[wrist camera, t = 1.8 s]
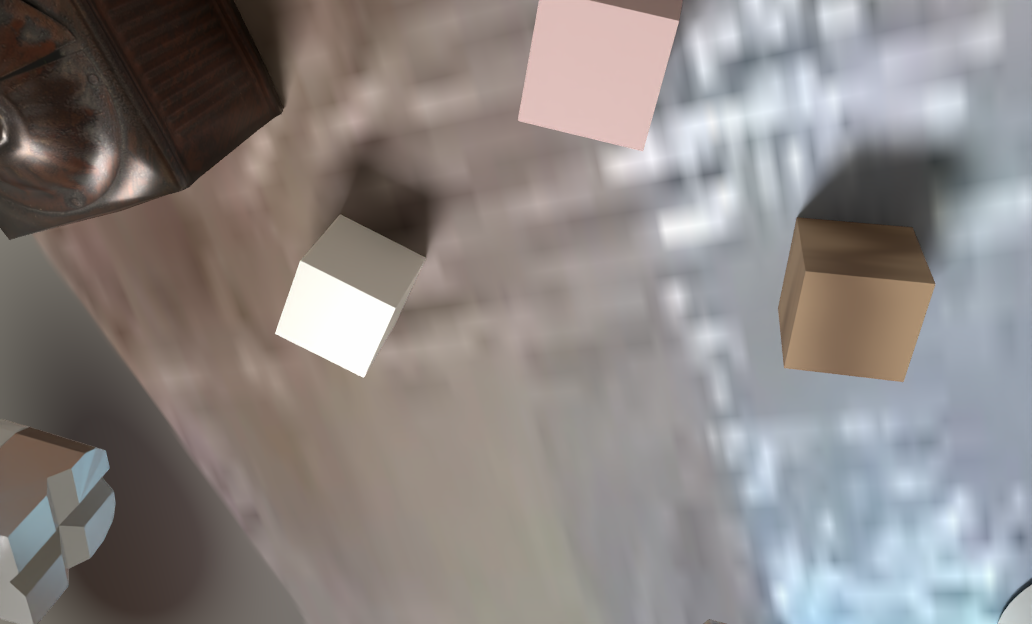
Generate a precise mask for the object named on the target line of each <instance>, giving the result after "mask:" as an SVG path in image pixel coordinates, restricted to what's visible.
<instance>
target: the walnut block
mask: <svg viewBox="0 0 1032 624" xmlns="http://www.w3.org/2000/svg"><path fill="white" fill-rule="evenodd" d="M934 287H935V282H934V279H933V277H932V274H931V272H930V269H929V267H928V264H927V262H926V260H925V257H924V255H923V252H922V250H921V247H920V245H919V242H918V240H917V237H916V235H915V232H914V230H913V228H912V227H903V226H891V225H880V224H868V223H857V222H845V221H834V220H822V219H810V218H799V217H797V219H796V224H795V229H794V233H793V238H792V243H791V248H790V253H789V258H788V263H787V267H786V272H785V277H784V282H783V287H782V292H781V297H780V301H779V306H778V312H779V322H780V332H781V342H782V352H783V362H784V368H789V369H798V370H806V371H815V372H823V373H832V374H840V375H849V376H857V377H866V378H874V379H883V380H891V381H900V382H904V378H905V375H906V372H907V369H908V366H909V363H910V360H911V357H912V354H913V351H914V348H915V345H916V342H917V339H918V336H919V333H920V330H921V327H922V323H923V320H924V317H925V314H926V311H927V308H928V305H929V302H930V299H931V296H932V293H933V290H934Z"/></svg>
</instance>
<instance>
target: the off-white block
mask: <svg viewBox="0 0 1032 624" xmlns="http://www.w3.org/2000/svg"><path fill="white" fill-rule="evenodd" d="M425 259H426V258H425V257H423V256H421V255H419V254H417V253H416V252H414V251H412V250H410V249H408V248H406V247H404V246H402V245H400V244H398V243H396V242H394V241H392V240H390V239H388V238H386V237H384V236H382V235H380V234H378V233H376V232H374V231H372V230H370V229H368V228H366V227H364V226H362V225H360V224H358V223H356V222H354V221H353V220H351V219H349V218H347V217H345V216H343V215H341V214H340V215H339V216H338V217H337V218H336V220H335V221H334V222H333V223H332V224H331V225H330V227H329V228H328V229H327V230H326V231H325V232H324V234H323V235H322V236H321V237H320V238H319V239H318V241H317V242H316V243H315V244H314V245H313V246H312V248H311V249H310V250H309V251H308V252H307V253H306V255H305V256H304V257H303V258H302V259H301V260H300V263H299V266H298V269H297V272H296V275H295V278H294V281H293V283H292V286H291V289H290V292H289V295H288V298H287V301H286V304H285V307H284V309H283V312H282V315H281V318H280V321H279V324H278V327H277V330H276V333H275V334H277V335H279V336H281V337H283V338H285V339H287V340H289V341H291V342H293V343H295V344H297V345H299V346H301V347H303V348H305V349H307V350H309V351H311V352H313V353H315V354H317V355H319V356H321V357H323V358H325V359H327V360H329V361H331V362H333V363H335V364H337V365H339V366H341V367H343V368H345V369H347V370H349V371H351V372H353V373H356V374H358V375H360V376H362V377H365V375H366V373H367V372H368V370H369V368H370V367H371V365H372V363H373V361H374V360H375V358H376V356H377V355H378V353H379V351H380V350H381V348H382V346H383V344H384V343H385V341H386V339H387V338H388V336H389V334H390V333H391V331H392V329H393V327H394V326H395V324H396V322H397V320H398V318H399V315H400V313H401V311H402V309H403V307H404V305H405V302H406V300H407V298H408V296H409V294H410V292H411V290H412V287H413V285H414V283H415V281H416V279H417V277H418V274H419V272H420V270H421V268H422V266H423V264H424V261H425Z"/></svg>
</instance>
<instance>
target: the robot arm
mask: <svg viewBox="0 0 1032 624" xmlns="http://www.w3.org/2000/svg"><path fill="white" fill-rule="evenodd" d="M108 469H109V463H108V459H107V454H106V451H105V450H102V449H99V448H96V447H92V446H89V445H86V444H83V443H80V442H76V441H72V440H70V439H66V438H63V437H60V436H57V435H53V434H50V433H47V432H44V431H40V430H37V429H34V428H31V427H28V426H24V425H21V424H17V423H14V422H10V421H7V420H4V419H0V619H2V620H7V621H10V622H14V623H18V624H38V623H39V622H40V621H41V619H42V618H43V617H44V616H45V615H46V613H47V612H48V611H49V610H50V608H51V607H52V606H53V605H54V603H55V602H56V601H57V599H58V598H59V597H60V596H61V594H62V593H63V592H64V590H65V589H66V588H67V587H68V585H69V580H68V579H69V572H68V569H69V568H71V567H73V566H75V565H77V564H79V563H81V562H83V561H85V560H87V559H89V558H91V556H92V555H93V554H94V552H95V551H96V550H97V548H98V547H99V546H100V544H101V543H102V542H103V540H104V538H105V536H106V534H107V532H108V529H109V527H110V525H111V523H112V521H113V516H114V510H115V497H114V491H113V490H112V489H111V487H110V486H109V485H108V484H107V483H106V482H105V480H104V479H103V478H102V476H103V475H104V474H105V473H106V472H107V470H108ZM703 624H725V623H722V622H718V621H714V620H710V619H709V620H707V621H706V622H705V623H703ZM998 624H1032V585H1031V586H1029V587H1028V588H1026V589H1025V590H1024V591H1022V592H1021V593H1020V594H1019V595H1018V596H1017V597H1016V598H1015V599H1014V600H1013V601H1012V602H1011V603H1010V604H1009V605H1008V607H1007V608H1006V609H1005V611H1004V612H1003V614H1002V616H1001V618H1000V620H999V622H998Z"/></svg>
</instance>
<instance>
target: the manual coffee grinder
mask: <svg viewBox="0 0 1032 624" xmlns="http://www.w3.org/2000/svg"><path fill="white" fill-rule="evenodd" d="M282 112H283V109H282V106H281V104H280V101H279V99H278V96H277V93H276V91H275V88H274V86H273V83H272V81H271V78H270V76H269V73H268V71H267V69H266V67H265V64H264V62H263V60H262V58H261V56H260V54H259V52H258V50H257V48H256V46H255V44H254V42H253V40H252V38H251V36H250V34H249V32H248V29H247V27H246V25H245V23H244V21H243V19H242V17H241V15H240V13H239V11H238V9H237V7H236V5H235V3H234V1H233V0H0V228H1V230H2V231H3V232H4V233H5V235H6V236H7V237H8V238H9V240H11V239H15V238H18V237H22V236H26V235H29V234H33V233H37V232H41V231H44V230H48V229H52V228H56V227H59V226H63V225H67V224H71V223H75V222H79V221H83V220H87V219H91V218H95V217H99V216H103V215H107V214H111V213H115V212H119V211H122V210H125V209H128V208H130V207H133V206H136V205H139V204H142V203H145V202H148V201H151V200H153V199H156V198H159V197H162V196H165V195H168V194H172V193H175V192H179V191H182V190H184V189H186V188H188V187H190V186H191V185H192V184H193V183H194V182H195V181H196V180H197V179H198V178H199V177H201V176H202V175H203V174H204V173H205V172H207V171H208V170H209V169H210V168H212V167H213V166H214V165H215V164H217V163H218V162H219V161H220V160H222V159H223V158H224V157H225V156H227V155H228V154H229V153H230V152H232V151H233V150H234V149H235V148H237V147H238V146H239V145H240V144H241V143H243V142H244V141H245V140H246V139H248V138H249V137H250V136H251V135H252V134H254V133H255V132H256V131H257V130H259V129H260V128H261V127H263V126H264V125H265V124H267V123H268V122H269V121H271V120H272V119H273V118H275V117H276V116H278V115H280V114H281V113H282Z"/></svg>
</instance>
